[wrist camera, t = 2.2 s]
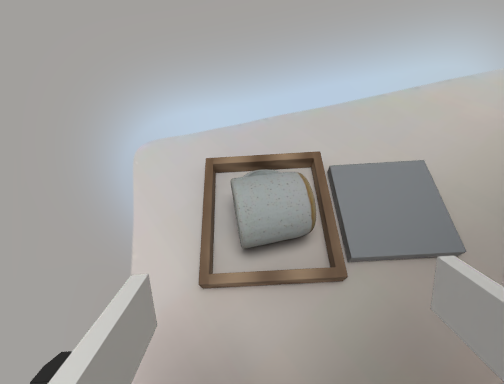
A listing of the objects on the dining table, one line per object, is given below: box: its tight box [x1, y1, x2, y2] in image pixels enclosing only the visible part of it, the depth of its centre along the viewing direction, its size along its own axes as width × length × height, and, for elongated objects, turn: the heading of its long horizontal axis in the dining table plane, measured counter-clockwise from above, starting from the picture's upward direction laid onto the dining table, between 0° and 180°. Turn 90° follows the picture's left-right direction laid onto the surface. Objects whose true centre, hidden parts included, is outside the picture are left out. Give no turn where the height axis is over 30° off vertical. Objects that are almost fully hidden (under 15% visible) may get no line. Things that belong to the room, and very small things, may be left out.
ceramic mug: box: [231, 169, 316, 248], centre depth 30 cm, size 11×8×8 cm
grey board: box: [328, 160, 466, 262], centre depth 31 cm, size 12×12×2 cm
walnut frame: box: [199, 152, 348, 288], centre depth 31 cm, size 15×16×2 cm
